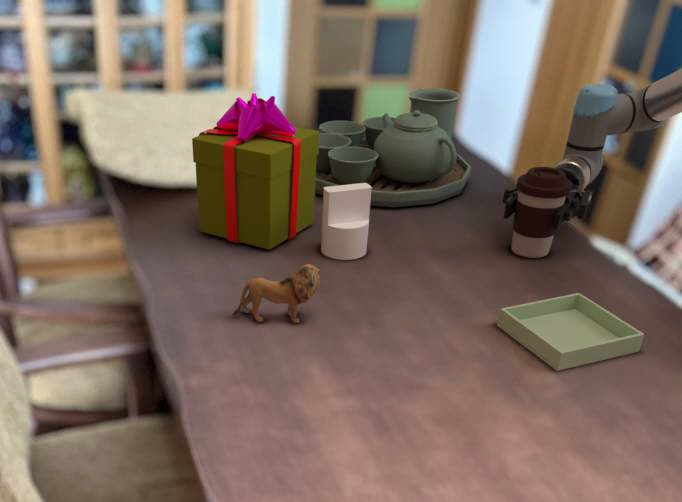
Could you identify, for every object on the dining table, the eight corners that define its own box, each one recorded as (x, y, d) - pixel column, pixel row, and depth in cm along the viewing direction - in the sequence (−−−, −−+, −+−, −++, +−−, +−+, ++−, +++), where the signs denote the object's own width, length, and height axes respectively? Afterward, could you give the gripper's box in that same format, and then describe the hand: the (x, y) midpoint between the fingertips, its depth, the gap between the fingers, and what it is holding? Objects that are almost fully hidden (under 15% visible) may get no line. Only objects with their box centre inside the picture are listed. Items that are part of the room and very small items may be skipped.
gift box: (230, 206, 179) (226, 77, 162) (320, 220, 173) (326, 88, 157) (188, 240, 165) (180, 103, 148) (286, 256, 159) (288, 115, 142)
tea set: (336, 144, 213) (340, 73, 202) (487, 168, 200) (500, 92, 189) (267, 191, 186) (268, 111, 175) (437, 222, 173) (449, 138, 162)
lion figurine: (316, 309, 142) (318, 258, 136) (319, 323, 139) (322, 272, 133) (231, 311, 142) (230, 260, 136) (232, 325, 138) (231, 273, 132)
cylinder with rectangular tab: (356, 239, 166) (360, 177, 158) (373, 256, 159) (379, 193, 152) (314, 244, 164) (316, 182, 156) (330, 262, 157) (334, 198, 149)
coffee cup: (566, 254, 161) (585, 174, 151) (531, 265, 157) (549, 184, 147) (528, 237, 167) (544, 160, 157) (493, 248, 163) (508, 169, 153)
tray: (638, 351, 132) (644, 334, 130) (556, 371, 128) (561, 353, 125) (574, 309, 143) (579, 292, 141) (496, 325, 139) (500, 308, 137)
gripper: (614, 211, 167) (583, 248, 152) (511, 191, 175) (473, 224, 160) (624, 172, 162) (594, 207, 147) (518, 153, 170) (480, 185, 155)
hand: (531, 216), depth 154 cm, fingers closed on coffee cup, 9 cm apart
